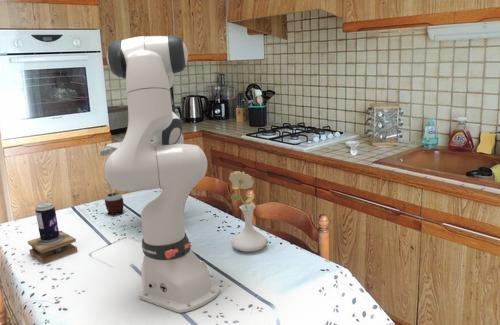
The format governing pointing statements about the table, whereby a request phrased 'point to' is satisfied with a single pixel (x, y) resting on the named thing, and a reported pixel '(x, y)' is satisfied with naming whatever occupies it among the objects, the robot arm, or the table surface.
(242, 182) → the flower in vase
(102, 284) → the table surface
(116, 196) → the mate gourd
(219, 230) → the table surface
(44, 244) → the levelling stand
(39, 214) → the beverage can
